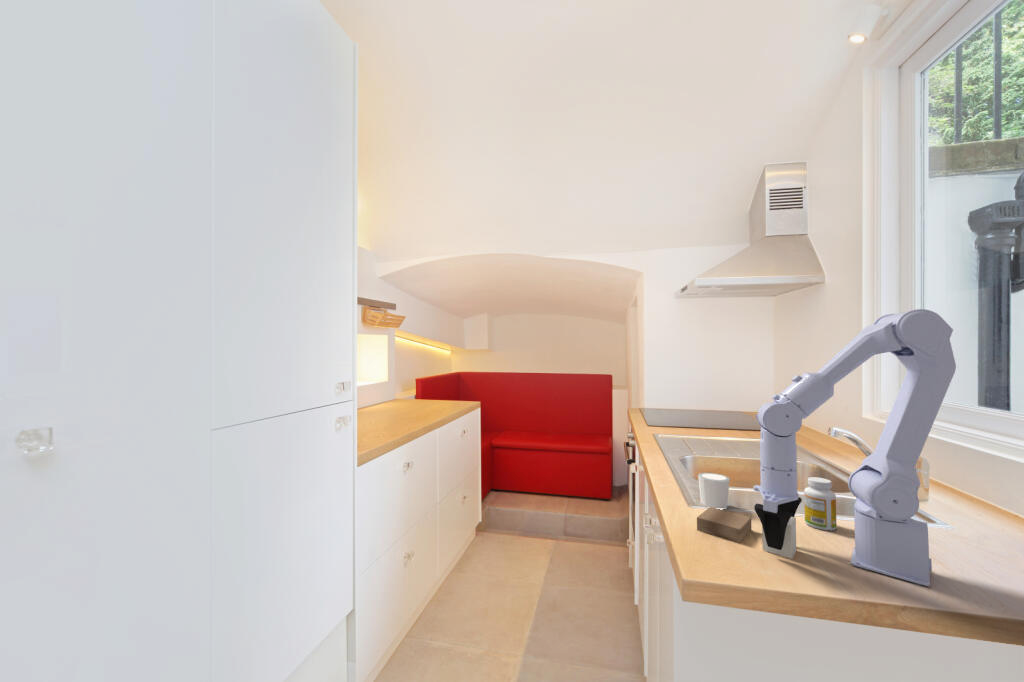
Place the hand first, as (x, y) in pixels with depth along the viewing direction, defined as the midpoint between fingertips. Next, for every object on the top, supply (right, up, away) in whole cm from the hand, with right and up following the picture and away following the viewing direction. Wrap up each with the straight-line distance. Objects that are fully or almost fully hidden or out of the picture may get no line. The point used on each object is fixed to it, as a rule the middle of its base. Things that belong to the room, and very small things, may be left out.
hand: (779, 540), depth 74 cm
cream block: (0, -2, 0) cm, 2 cm away
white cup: (-1, -3, +22) cm, 22 cm away
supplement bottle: (+16, -2, +11) cm, 20 cm away
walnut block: (-6, -2, +8) cm, 10 cm away
